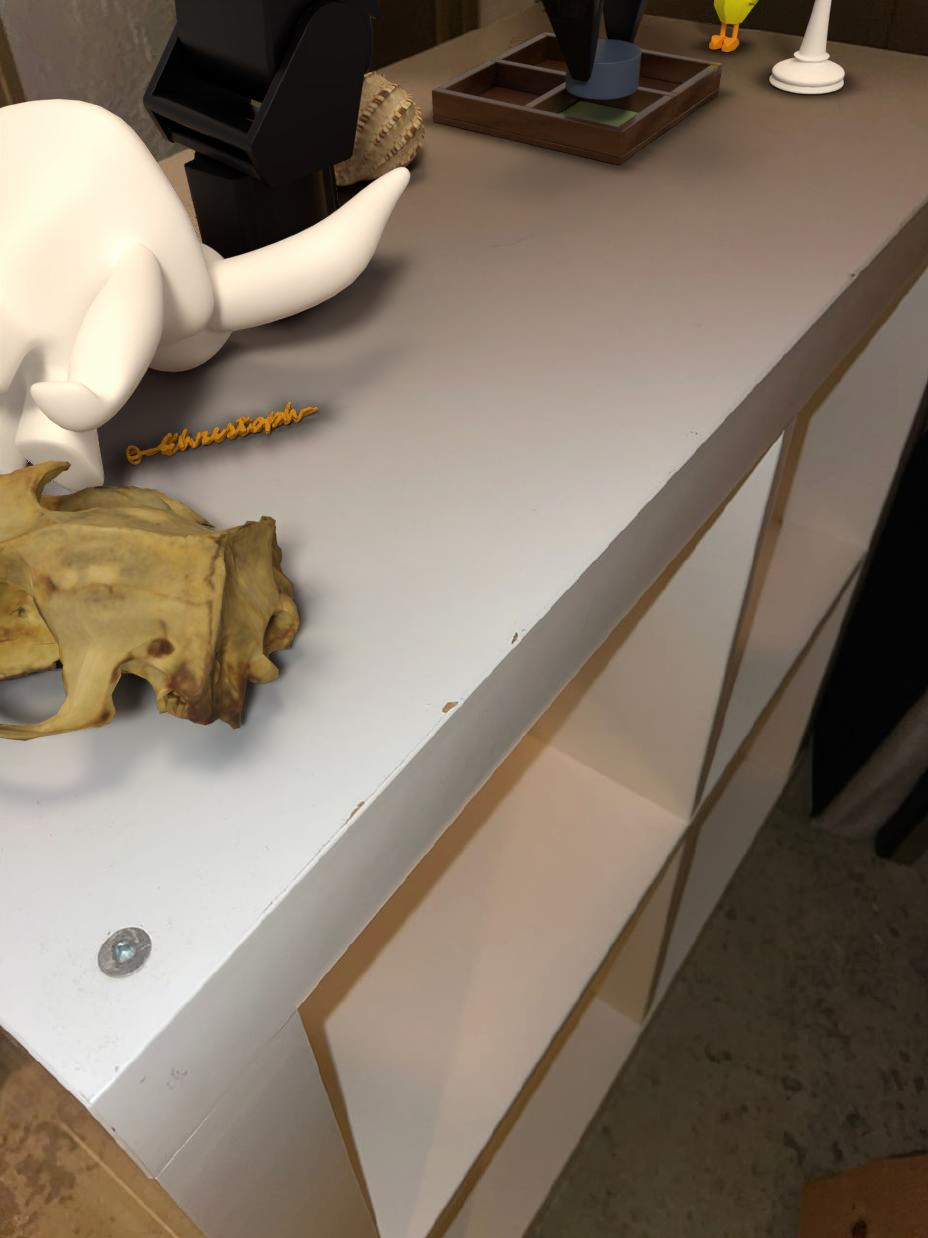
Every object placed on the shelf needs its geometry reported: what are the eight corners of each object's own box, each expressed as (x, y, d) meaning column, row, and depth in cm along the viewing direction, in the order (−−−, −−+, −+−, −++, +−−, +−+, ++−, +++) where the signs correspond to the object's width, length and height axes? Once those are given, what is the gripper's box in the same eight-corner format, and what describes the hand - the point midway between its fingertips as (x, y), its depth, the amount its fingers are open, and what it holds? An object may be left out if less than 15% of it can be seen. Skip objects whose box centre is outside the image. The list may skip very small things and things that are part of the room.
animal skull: (-118, 642, 35) (-231, 491, 30) (295, 536, 36) (243, 376, 32) (-205, 876, 27) (-374, 717, 23) (328, 731, 28) (264, 553, 24)
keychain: (131, 472, 38) (123, 448, 37) (129, 463, 38) (121, 439, 38) (322, 422, 39) (317, 399, 39) (316, 415, 40) (311, 392, 40)
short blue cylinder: (615, 104, 56) (618, 67, 55) (551, 91, 58) (553, 55, 56) (651, 82, 58) (654, 45, 57) (588, 70, 60) (590, 34, 59)
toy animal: (310, 557, 35) (436, 220, 41) (70, 309, 25) (288, -82, 31) (-50, 542, 43) (102, 267, 50) (-332, 356, 34) (-96, 44, 40)
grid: (619, 165, 57) (622, 131, 55) (432, 121, 62) (431, 89, 61) (718, 94, 64) (723, 62, 63) (544, 60, 70) (545, 31, 69)
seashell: (380, 261, 55) (450, 128, 58) (345, 183, 50) (424, 40, 52) (270, 237, 58) (341, 110, 60) (226, 160, 52) (306, 24, 55)
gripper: (691, -266, 38) (647, 147, 49) (856, -303, 48) (788, 46, 59) (461, -272, 42) (469, 107, 54) (657, -304, 52) (629, 20, 64)
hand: (600, 68), depth 57 cm, fingers closed on short blue cylinder, 4 cm apart
